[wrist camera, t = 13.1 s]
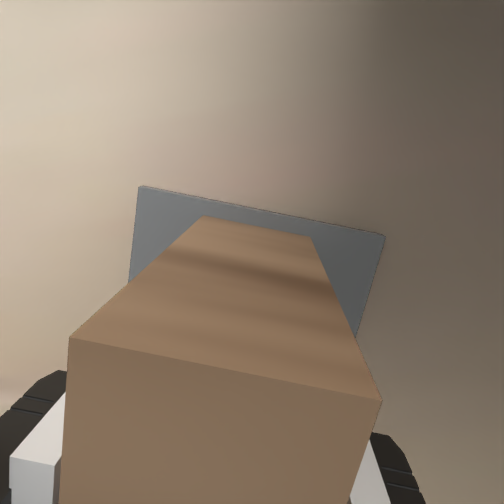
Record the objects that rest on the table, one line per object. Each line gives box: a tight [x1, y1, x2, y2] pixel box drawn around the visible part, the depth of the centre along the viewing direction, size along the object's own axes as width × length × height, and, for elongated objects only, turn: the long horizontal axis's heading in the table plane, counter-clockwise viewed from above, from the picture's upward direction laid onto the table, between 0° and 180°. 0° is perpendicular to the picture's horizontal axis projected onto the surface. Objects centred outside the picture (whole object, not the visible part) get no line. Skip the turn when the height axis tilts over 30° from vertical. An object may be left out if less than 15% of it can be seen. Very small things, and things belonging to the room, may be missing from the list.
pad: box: [128, 186, 386, 337], centre depth 14 cm, size 14×8×1 cm, turn 169°
